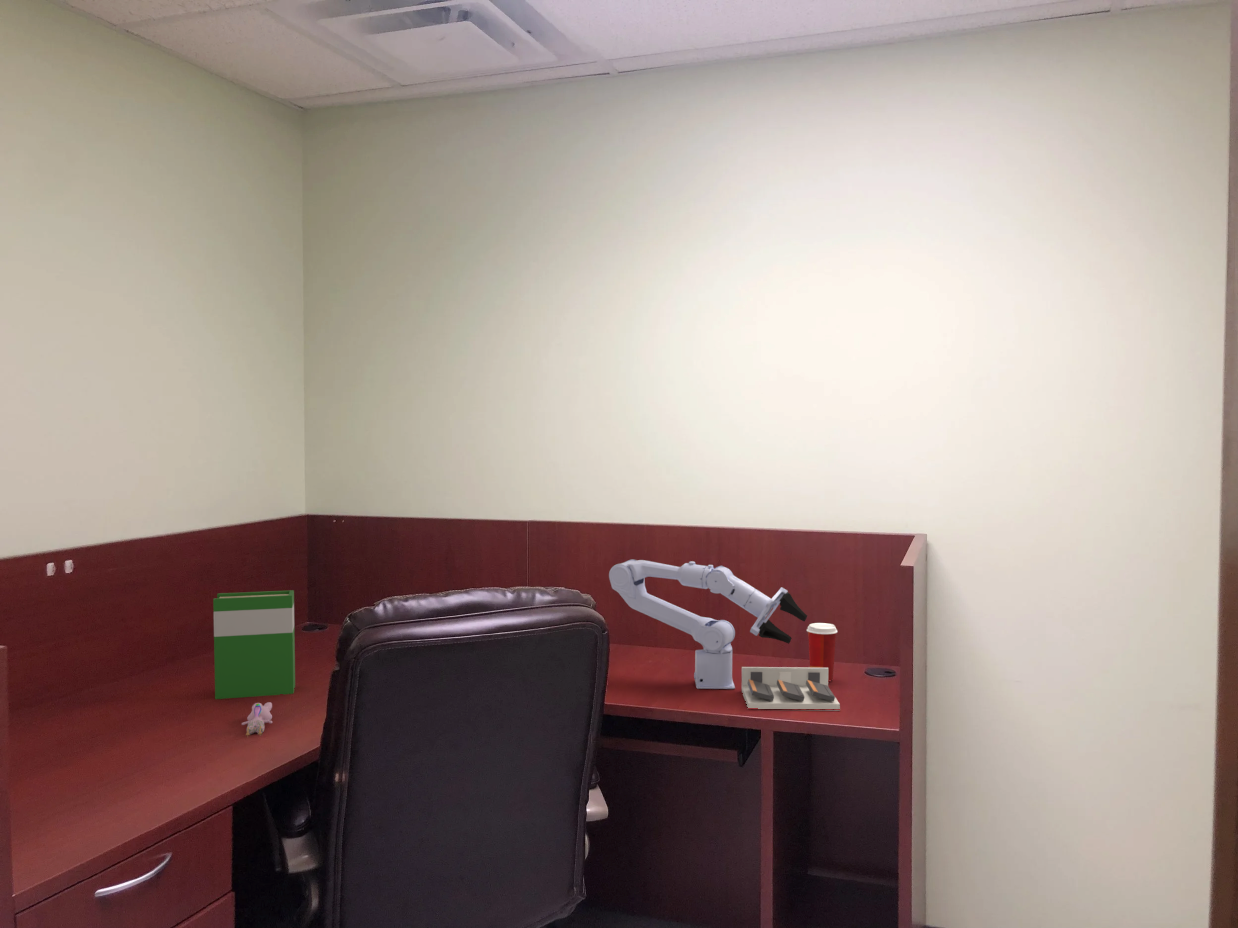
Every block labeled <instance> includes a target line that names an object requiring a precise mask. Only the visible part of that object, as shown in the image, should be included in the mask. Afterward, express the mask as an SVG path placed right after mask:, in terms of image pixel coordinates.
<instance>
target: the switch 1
mask: <svg viewBox="0 0 1238 928" xmlns="http://www.w3.org/2000/svg"><path fill="white" fill-rule="evenodd" d="M747 684H748V686H749V689H750V692H751V694H752V695H753V696H757V697H760V698H764V699H768V700H771V701H773V699H774V695H773V693H772V691H771V688H770V686H769V685H767V684H764V683H760V682H757V681H753V680H749V679H748V683H747Z"/></svg>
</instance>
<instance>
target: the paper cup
mask: <svg viewBox="0 0 1238 928" xmlns="http://www.w3.org/2000/svg"><path fill="white" fill-rule="evenodd" d="M806 632H807V634H808V635H807V636H808V654H809V655H808V657H809V667H810V668H828V681H829V680H832V679H833V680H834V671H835V670H834V669H835V655H836V642H837V633H838V629H837V628H836V625H835V624H833V623H825V622H814V623H810V624H809V625H808V626H807V628H806ZM833 680H832V681H833Z"/></svg>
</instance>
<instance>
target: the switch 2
mask: <svg viewBox="0 0 1238 928" xmlns="http://www.w3.org/2000/svg"><path fill="white" fill-rule="evenodd" d="M776 684H777V686H778V688H779V690H780V692H781V694H782V696H786V697H790V698H793V699H797V700H801V701H803V700H804V695H803V693H802V691H801V689H800V688H799V686H798V685H796V684H792V683H788V682H785V681H781V680H777V683H776Z"/></svg>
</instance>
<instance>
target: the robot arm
mask: <svg viewBox="0 0 1238 928" xmlns="http://www.w3.org/2000/svg"><path fill="white" fill-rule="evenodd" d="M648 577H650V578H651V577H652V578H660V579H669V580H677V581H678V582H679V583H680V585H682V586H684V587H689V588H697V589H704V590H707V589H709V591H710V592H711V593H713V594H720V595H722V596H724V597H725V598H727V599H728V600H730V601H731V602H733V603H735V604H736V605H737V606H739V607H740V608H742V609H744V610H745V611H747V613H749V614H751V615H753V616H754V617H756V618H757V619H756V620H755V621H754V624H753V625H752V626H751V627H750V630H749V633H751V634H753V635H754V636H759V637H760V638H763V639H764V638H765V639H772V640H777V641H780V642H784V643H786V644H788V645H789V644H791V641H792V638H793V637H791V636H790V635H789V634H787V633H786V632H784V631H783V630H782V629H780V628H778V627H777V626H776V625H775V624H774V623H773V622H772V621H771V620H770V618H771V616H772V614H773V613H774V612H775V611H776V610H777V608H778V607H779V606H780V607H779V610H780V611H782V612H786V613H788V614H790V615H792V616H794V617H795V618H797V619H799V620H800V621H802V622H806V621H807V619H808V618H807V617H808V615H807V614H806V613H805V612H804V611H803V609H801V608H800V607H799V605H798V604H797V603H796V601H795V600H794V598H793V597H792V595H791V593H789V591H788V589H785V588H784V587H780V588H779V589H778V591H777V592H776V593H775V594H774V595H773V596H772V598H771V597H769V596H768V595H766V594H764V593H763V592H761V591H760V590H759V589H756V588H755V587H753V586H752V585H750V584H749V583H747V582H745V581H744V580H742V579H740V578H738V577H737V576H736V575H734V573H733V572H732V570H731V569H729V568H728V567H725V566H723V565H719V566H716V567H714V565H713V564H708V565H702V564H696V562H695V561H693V560H692V561H691V560H690V561H688V562H685V563H684V564H682V565H681V566H676V565H671V564H665V563H661V562H656V561H651V560H644V559H639V560H637V559H629V560H626V561H624V562H621V563H617V564H615V565H613V566H612V567H611V568H610V570H609V573H608V579H609V582H610V585H611V586H610V587H611V589H612V590H614V591H615V592H617V593H618V594H619V596H621V598H622V599H623V600H624V602H625V603H626V604H627V605H628V607H630V608H631V609H632V610H635V611H637V612H639V613H642V614H643V615H646V616H648V617H650V618H652V619H655V620H658V621H660V622H661V623H664V624H666V625H667V626H670V627H673V628H675V629H677V630H680V631H682V632H684V633H686V634H688V635H691V636H692V639H693V640H694V641H695V642H697V643H699V644H700V645H701V646H702V648H703V649H696V650H695V653H694V654H695V655H694V659H695V660H694V661H695V662H694V673H693V678H694V679H693V680H694V683H695V687H696V689H698V690H699V689H702V690H703V689H705V690H706V689H710V690H711V689H712V690H719V689H720V690H734V689H736V686H735V683H734V681H733V680H734V679H733V646H732V645H731V644H732V642H733V641H734V639H735V636H736V630H735V628H734V626H733V624H732V623H731V622H729V621H727V620H725V619H720V620H719V619H718V620H717V619H714V618H711V617H705V616H700V615H698V614H696V613H693V612H691V611H688V610H686V609H684V608H682V607H679V606H677V605H675V604H673V603H670V602H668V601H666V600H664V599H661V598H659V597H656V596H655V595H652V594H650V593H648V592H647V591H648V590H647V588H646V583H645V578H648Z"/></svg>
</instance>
